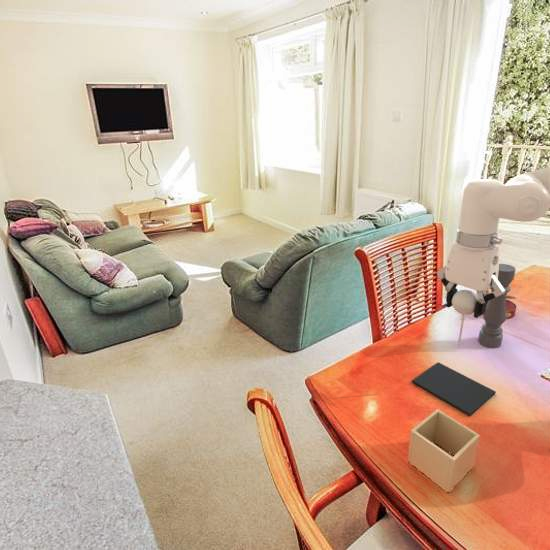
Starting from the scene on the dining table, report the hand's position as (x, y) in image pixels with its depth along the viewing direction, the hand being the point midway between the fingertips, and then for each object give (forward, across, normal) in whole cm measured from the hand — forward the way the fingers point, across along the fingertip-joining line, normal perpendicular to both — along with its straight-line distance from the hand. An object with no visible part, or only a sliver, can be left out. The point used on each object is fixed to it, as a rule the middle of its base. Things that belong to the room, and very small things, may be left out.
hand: (464, 309), depth 88 cm
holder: (+23, -11, +23) cm, 35 cm away
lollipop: (+10, 0, 0) cm, 10 cm away
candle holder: (+24, +4, -27) cm, 36 cm away
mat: (+23, 0, 0) cm, 23 cm away
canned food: (+24, +11, -47) cm, 54 cm away
